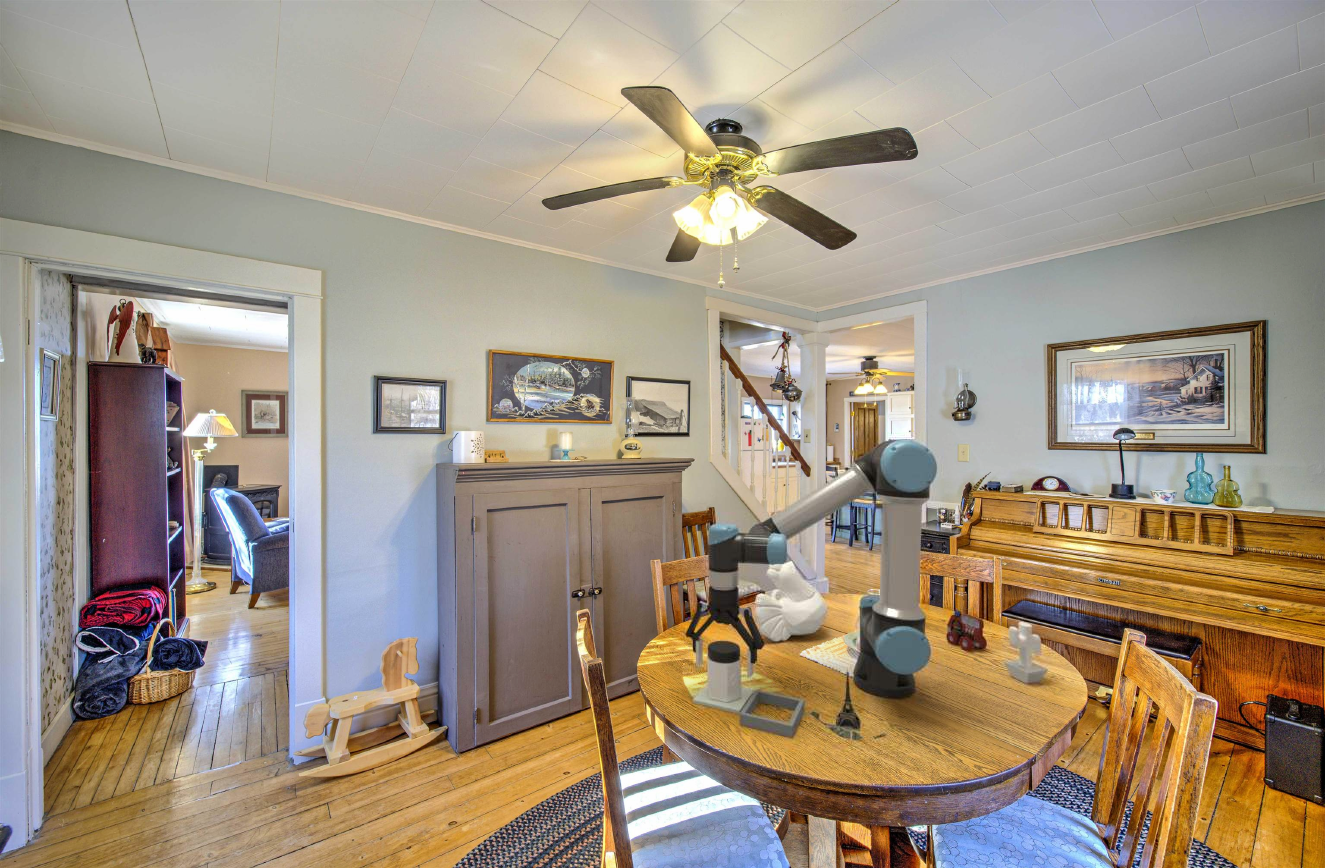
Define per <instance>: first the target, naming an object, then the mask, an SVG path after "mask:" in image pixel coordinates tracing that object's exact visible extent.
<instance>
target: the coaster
mask: <svg viewBox="0 0 1325 868" xmlns="http://www.w3.org/2000/svg"><path fill="white" fill-rule="evenodd" d="M754 692H755V688H751V687H746V686H742V685H741V698H739V699H736V700H733V701H730V702H728V703H727V702H722V701H718V700H713V699H710V696H709V693H708V690H707V683H706V684H705V685H704V686H703V688H702V689H701V690H700V691H699V693H697V694H696V696H695V697H694V698H693V699H692V703H693V704H696V705H700V706H703V707H704V706H705V707H708V708H713V709H717V710H721V711H726V712H730V713H734V714H740V712H741V711H742V709H743V708H744V706H745V705H746V703H747V702H748V700H749V699H750V698H751V696H752V695H753V693H754Z"/></svg>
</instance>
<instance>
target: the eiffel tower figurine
mask: <svg viewBox="0 0 1325 868" xmlns="http://www.w3.org/2000/svg"><path fill="white" fill-rule="evenodd" d="M848 669H849V667H848V666H847V671H846V672H845V673H846V681H845V682H846V686H845V687H846V688H845V698H844V699H843V702H844V703H843V706H841V710H840V711H839V712H838V714H837V715H836V717H835V718H836V719H835V723H834V724H831V723H827V722H823V721H821V719H820V715H821V714H820V713H819V712H816V711H808V714H810V715H811V716H812V717H813V718H815V719H816V720H817V721H819V723H820V724H823V725H824V726H826V727H827V729H829V730H830V731H832V732H834V734H836V735H838V737H840V738H843V739H847V740H852V741H861V740H863V739H864V737H863V736H862V735H861V734H859V733H857V732H861V722H862V721H861V720H862V719H860V717H859V716H858V714H857V712H855V708H854V706H853V703H852V701H853V700H852V699H851V692H850V677H849V676H850V672H849V670H848ZM885 736H887V734H886V733H882V734H879V735H876V736H872V737H873V738H874V740H877V739H879V738H883V737H885Z"/></svg>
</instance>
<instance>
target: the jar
mask: <svg viewBox="0 0 1325 868" xmlns="http://www.w3.org/2000/svg"><path fill="white" fill-rule="evenodd" d="M706 659H707V660H706V663H707V664H706V665H707V666H706V667H707V668H706V669H707V675H706V677H707V680H706V681H707V683H706V684H707V690H708V693H709V696H710V699H713V700H718V701H722V702H727V703H728V702H730V701H733V700H736V699H739V698H741V686H742V661H741V646H740V645H739V644H737V643H736V642H734V641H733V642H732V641H729V640H716V641H715V640H714V641H711V642H710V643H709V644H708V645H707V656H706Z"/></svg>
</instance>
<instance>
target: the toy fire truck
mask: <svg viewBox="0 0 1325 868" xmlns="http://www.w3.org/2000/svg"><path fill="white" fill-rule="evenodd" d="M984 623H985V622H984V620H983V619H982V618H979V617H976V616H973V615H971V614H968V613H962V612H961V611H960V610H955V611H954V613H953V614H952V615H950V617H949V619H948V622H947V624H946V625H947V633H946V640H947V642H948V643H949V644H950V645H951V646H956V645H959V646H960V648H961V649H962V650H963V651H965V652H971V651H973V649H974V648H977V649H979V650H983V649H986V648H987V646H988V643H987V639H986V638H985V636H984V633H983V632H984V631H983V629H984V628H985V624H984Z"/></svg>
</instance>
